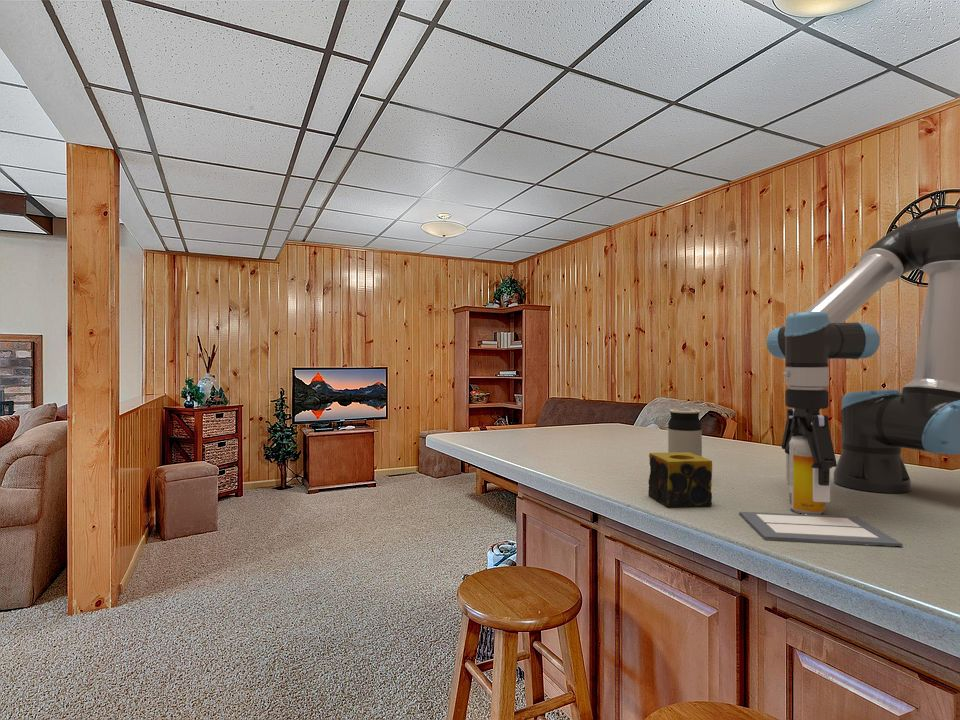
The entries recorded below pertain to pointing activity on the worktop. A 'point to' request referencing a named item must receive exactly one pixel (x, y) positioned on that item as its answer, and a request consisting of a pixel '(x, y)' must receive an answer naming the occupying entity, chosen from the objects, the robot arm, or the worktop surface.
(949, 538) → the worktop surface
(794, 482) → the beer can
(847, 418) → the robot arm
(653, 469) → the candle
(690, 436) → the travel mug
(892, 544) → the blotter
